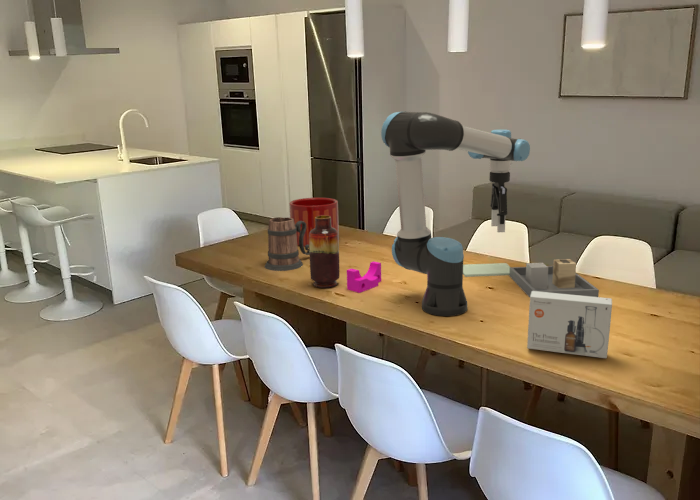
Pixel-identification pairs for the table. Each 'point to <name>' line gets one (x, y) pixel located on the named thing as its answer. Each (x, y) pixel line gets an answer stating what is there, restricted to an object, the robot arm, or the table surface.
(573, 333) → the skincare box
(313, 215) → the planter
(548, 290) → the parts bin
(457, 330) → the table surface
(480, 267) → the mat
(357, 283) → the toy block
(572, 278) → the maple box
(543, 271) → the grey box
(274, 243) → the tankard
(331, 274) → the vase
